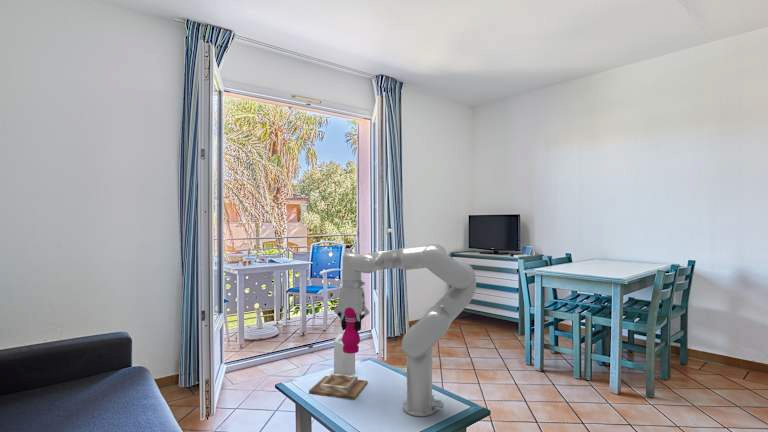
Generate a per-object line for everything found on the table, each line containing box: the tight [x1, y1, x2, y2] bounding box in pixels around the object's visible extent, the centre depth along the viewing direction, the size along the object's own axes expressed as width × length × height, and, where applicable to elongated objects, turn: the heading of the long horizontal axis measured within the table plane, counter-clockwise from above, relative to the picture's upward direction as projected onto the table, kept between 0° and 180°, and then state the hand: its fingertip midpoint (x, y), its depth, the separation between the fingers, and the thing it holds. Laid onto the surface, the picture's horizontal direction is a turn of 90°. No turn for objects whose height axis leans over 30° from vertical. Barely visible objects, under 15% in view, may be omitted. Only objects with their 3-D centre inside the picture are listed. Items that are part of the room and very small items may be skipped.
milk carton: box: [333, 330, 356, 376], centre depth 182 cm, size 7×7×19 cm
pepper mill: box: [342, 308, 361, 354], centre depth 156 cm, size 7×7×20 cm
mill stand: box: [308, 373, 369, 401], centre depth 166 cm, size 20×16×3 cm
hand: (351, 329), depth 156 cm, fingers closed on pepper mill, 5 cm apart
